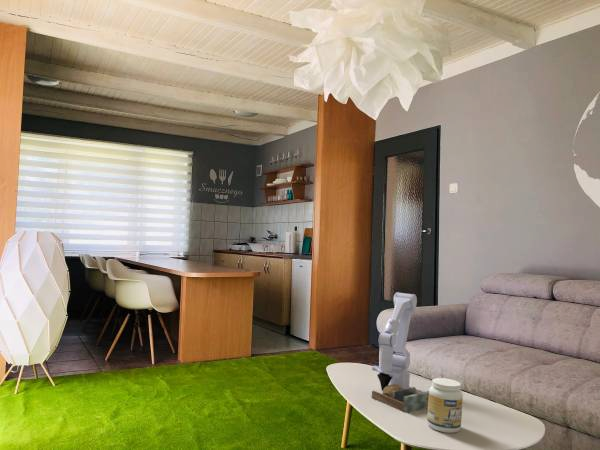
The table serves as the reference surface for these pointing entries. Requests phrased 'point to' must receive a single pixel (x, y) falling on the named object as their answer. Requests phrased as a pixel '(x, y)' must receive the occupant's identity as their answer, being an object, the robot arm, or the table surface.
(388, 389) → the bread roll
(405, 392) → the pusher plate
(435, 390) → the supplement tub
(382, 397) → the brown wooden tray
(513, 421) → the table surface
